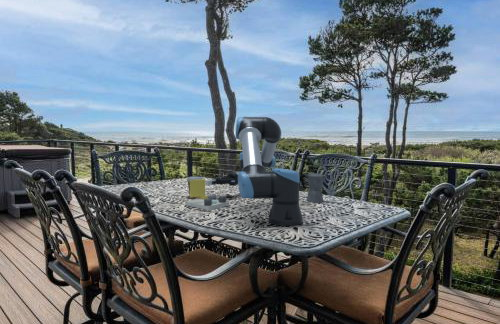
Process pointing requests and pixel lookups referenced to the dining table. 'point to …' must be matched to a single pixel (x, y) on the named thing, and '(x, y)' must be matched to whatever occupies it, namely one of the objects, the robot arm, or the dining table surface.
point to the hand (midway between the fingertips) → (206, 183)
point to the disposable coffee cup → (189, 183)
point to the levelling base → (201, 204)
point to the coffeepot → (314, 186)
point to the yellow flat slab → (199, 190)
